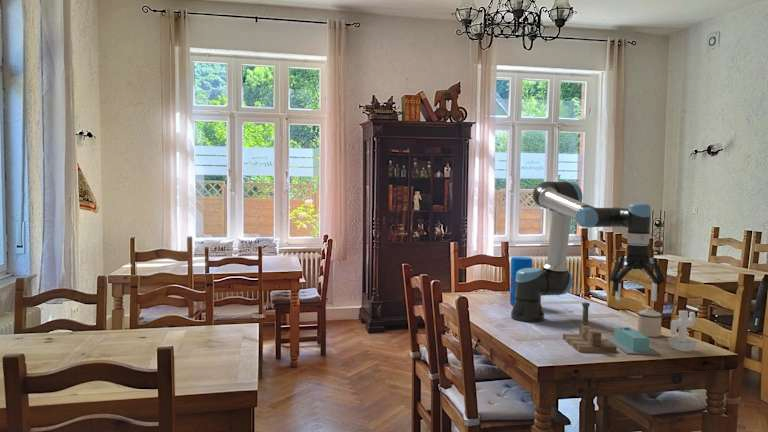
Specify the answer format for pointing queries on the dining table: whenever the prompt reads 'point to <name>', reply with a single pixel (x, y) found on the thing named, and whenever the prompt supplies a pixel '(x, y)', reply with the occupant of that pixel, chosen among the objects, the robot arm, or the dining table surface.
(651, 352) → the rubber mat
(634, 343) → the mint green knobbed block
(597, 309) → the dining table surface
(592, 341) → the wooden stand with peg
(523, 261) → the tall blue block
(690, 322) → the figurine
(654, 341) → the dining table surface
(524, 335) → the dining table surface
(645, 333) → the teacup with lid
